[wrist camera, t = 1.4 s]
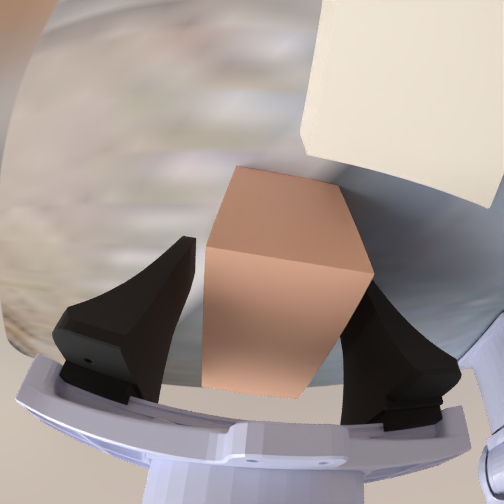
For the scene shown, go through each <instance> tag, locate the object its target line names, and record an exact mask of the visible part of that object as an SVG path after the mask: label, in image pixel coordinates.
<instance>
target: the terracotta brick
mask: <svg viewBox="0 0 504 504" xmlns="http://www.w3.org/2000/svg"><path fill="white" fill-rule="evenodd" d="M373 276H374V271H373V269H372V266H371V263H370V260H369V258H368V255H367V253H366V250H365V247H364V245H363V242H362V240H361V237H360V235H359V232H358V230H357V228H356V225H355V223H354V220H353V218H352V216H351V213H350V211H349V209H348V206H347V204H346V202H345V200H344V198H343V195H342V193H341V191H340V189H339V187H338V185H334V184H329V183H325V182H320V181H315V180H310V179H305V178H300V177H295V176H290V175H285V174H279V173H274V172H268V171H262V170H256V169H250V168H244V167H237V166H236V168H235V171H234V173H233V176H232V178H231V181H230V183H229V186H228V189H227V191H226V194H225V196H224V199H223V202H222V204H221V207H220V209H219V212H218V215H217V218H216V220H215V223H214V226H213V228H212V231H211V234H210V237H209V239H208V242H207V245H206V254H205V273H204V298H203V332H202V387H206V388H211V389H218V390H223V391H229V392H236V393H243V394H251V395H259V396H268V397H278V398H290V399H298V398H299V397H300V395H301V394H302V393H303V391H304V390H305V388H306V387H307V386H308V384H309V383H310V381H311V380H312V378H313V377H314V375H315V374H316V373H317V371H318V370H319V368H320V367H321V365H322V364H323V362H324V360H325V359H326V357H327V356H328V354H329V353H330V351H331V350H332V348H333V346H334V345H335V343H336V342H337V340H338V338H339V337H340V335H341V333H342V332H343V330H344V328H345V327H346V325H347V323H348V322H349V320H350V318H351V316H352V315H353V313H354V311H355V309H356V308H357V306H358V304H359V302H360V301H361V299H362V297H363V295H364V293H365V291H366V289H367V288H368V286H369V284H370V282H371V280H372V278H373Z"/></svg>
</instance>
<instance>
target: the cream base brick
mask: <svg viewBox="0 0 504 504" xmlns="http://www.w3.org/2000/svg"><path fill="white" fill-rule="evenodd" d="M300 136H301V138H302V141H303V144H304V147H305V150H306V153H307V155H309V156H314V157H319V158H324V159H328V160H333V161H337V162H342V163H346V164H350V165H355V166H359V167H363V168H367V169H371V170H374V171H378V172H382V173H386V174H389V175H393V176H396V177H400V178H403V179H406V180H410V181H413V182H416V183H419V184H422V185H426V186H429V187H432V188H435V189H438V190H441V191H443V192H446V193H449V194H452V195H455V196H457V197H460V198H463V199H465V200H468V201H471V202H473V203H476V204H478V205H481V206H483V207H486V208H488V209H489V208H490V206H491V204H492V202H493V199H494V197H495V194H496V192H497V190H498V187H499V184H500V182H501V179H502V177H503V174H504V0H323V2H322V8H321V15H320V21H319V27H318V33H317V39H316V45H315V51H314V57H313V63H312V69H311V74H310V80H309V85H308V91H307V96H306V102H305V107H304V113H303V118H302V123H301V129H300Z"/></svg>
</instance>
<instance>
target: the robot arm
mask: <svg viewBox="0 0 504 504" xmlns="http://www.w3.org/2000/svg"><path fill="white" fill-rule="evenodd" d="M195 256H196V238H192V237H186V236H183V237H181V238H180V239H179V240H178V241H177V242H176V243H175V244H174V245H172V246H171V247H170V248H169V249H168V250H167V251H166V252H165V253H164V254H162V255H161V256H160V257H159V258H158V259H157V260H155V261H154V262H153V263H152V264H150V265H149V266H148V267H147V268H145V269H144V270H143V271H141V272H140V273H139V274H137V275H136V276H134V277H133V278H131V279H130V280H128V281H126V282H125V283H123V284H121V285H119V286H118V287H116V288H114V289H112V290H110V291H108V292H106V293H104V294H102V295H100V296H97V297H95V298H93V299H90V300H88V301H85V302H82V303H79V304H76V305H73V306H70V307H68V308H67V309H66V310H65V312H64V313H63V315H62V317H61V318H60V320H59V322H58V323H57V325H56V327H55V329H54V331H53V332H52V336H53V340H54V342H55V344H56V345H57V347H58V349H59V350H60V352H61V353H62V355H63V356H64V358H65V359H66V361H65V363H64V365H63V366H62V365H61V364H60V363H58V362H57V361H55V360H52V359H50V358H48V357H46V356H44V355H41V354H39V353H38V354H37V355H36V356H35V358H34V361H33V362H32V364H31V366H30V368H29V370H28V372H27V374H26V376H25V378H24V380H23V382H22V385H21V387H20V389H19V391H18V393H17V396H16V398H15V400H16V401H17V402H18V403H19V404H20V405H21V406H22V407H24V408H25V409H26V410H27V411H29V412H30V413H31V414H32V415H33V416H35V417H36V418H37V419H39V420H40V421H41V422H42V423H44V424H46V425H48V426H50V427H52V428H53V429H55V430H57V431H59V432H61V433H63V434H65V435H67V436H69V437H71V438H73V439H75V440H77V441H79V442H81V443H84V444H86V445H88V446H90V447H92V448H95V449H97V450H99V451H101V452H104V453H106V454H109V455H111V456H114V457H116V458H119V459H121V460H124V461H127V462H130V463H133V464H136V465H138V466H142V467H145V468H148V469H149V473H148V478H147V482H146V487H145V492H144V496H143V502H142V504H364V483H368V482H374V481H379V480H384V479H388V478H393V477H397V476H401V475H405V474H409V473H413V472H417V471H421V470H424V469H428V468H431V467H434V466H438V465H440V464H442V463H445V462H447V461H449V460H450V459H453V458H455V457H457V456H459V455H461V454H463V453H465V452H467V451H469V450H470V449H471V443H470V439H469V434H468V429H467V425H466V420H465V416H464V411H463V408H462V406H456V407H451V408H446V409H444V410H441V409H440V405H442V404H443V400H442V396H443V395H444V394H446V393H447V392H448V391H449V390H451V389H452V388H453V387H454V386H455V385H456V384H457V383H458V382H459V380H460V378H461V375H462V374H461V371H460V370H462V369H471V368H473V371H474V374H475V376H476V380H477V383H478V386H479V389H480V392H481V395H482V399H483V402H484V406H485V409H486V413H487V417H488V421H489V425H490V430H491V434H492V436H491V437H489V438H487V439H486V442H487V445H486V446H485V448H484V450H483V452H482V455H481V458H480V461H479V468H478V477H479V483H480V487H481V489H482V491H483V493H484V496H485V499H486V504H504V312H503V313H501V314H500V315H499V316H498V318H497V319H496V320H495V321H494V323H493V324H492V325H491V326H490V327H489V329H488V330H487V331H486V332H485V333H484V334H483V335H482V337H481V338H480V339H479V340H478V341H477V342H476V343H475V344H474V345H473V346H472V348H471V349H470V350H469V351H468V352H467V353H466V354H465V355H464V356H463V357H462V358H461V359H460V360H459V361H458V362H457V360H456V359H455V358H454V357H452V356H450V355H449V354H447V353H446V352H444V351H442V350H441V349H440V348H438V347H437V346H436V345H434V344H433V343H431V342H430V341H429V340H428V339H426V338H425V337H424V336H423V335H422V334H421V333H419V332H418V331H417V330H416V329H415V328H414V327H413V326H412V325H411V324H410V323H409V322H408V321H407V320H406V319H405V318H404V317H403V316H402V315H401V314H400V313H399V312H398V311H397V310H396V308H395V307H394V306H393V305H392V304H391V303H390V301H389V300H388V299H387V298H386V296H385V295H384V294H383V293H382V291H381V290H380V289H379V288H378V286H377V285H376V284H375V282H374V281H373V280H371V282H370V284H369V286H368V288H367V289H366V291H365V293H364V295H363V297H362V299H361V301H360V302H359V304H358V306H357V308H356V309H355V311H354V313H353V315H352V316H351V318H350V320H349V322H348V323H347V325H346V327H345V328H344V330H343V332H342V333H341V335H340V338H341V344H342V351H343V365H344V387H343V388H344V389H343V405H342V416H341V424H340V425H333V424H299V423H297V424H296V423H282V422H269V421H248V420H240V419H232V418H225V417H219V416H213V415H207V414H202V413H196V412H192V411H187V410H182V409H178V408H173V407H169V406H165V405H161V404H158V401H159V394H160V389H161V384H162V379H163V374H164V369H165V365H166V361H167V356H168V352H169V348H170V344H171V340H172V336H173V333H174V330H175V327H176V325H177V322H178V320H179V317H180V315H181V312H182V310H183V307H184V305H185V302H186V300H187V297H188V295H189V292H190V289H191V286H192V282H193V278H194V274H195Z"/></svg>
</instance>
